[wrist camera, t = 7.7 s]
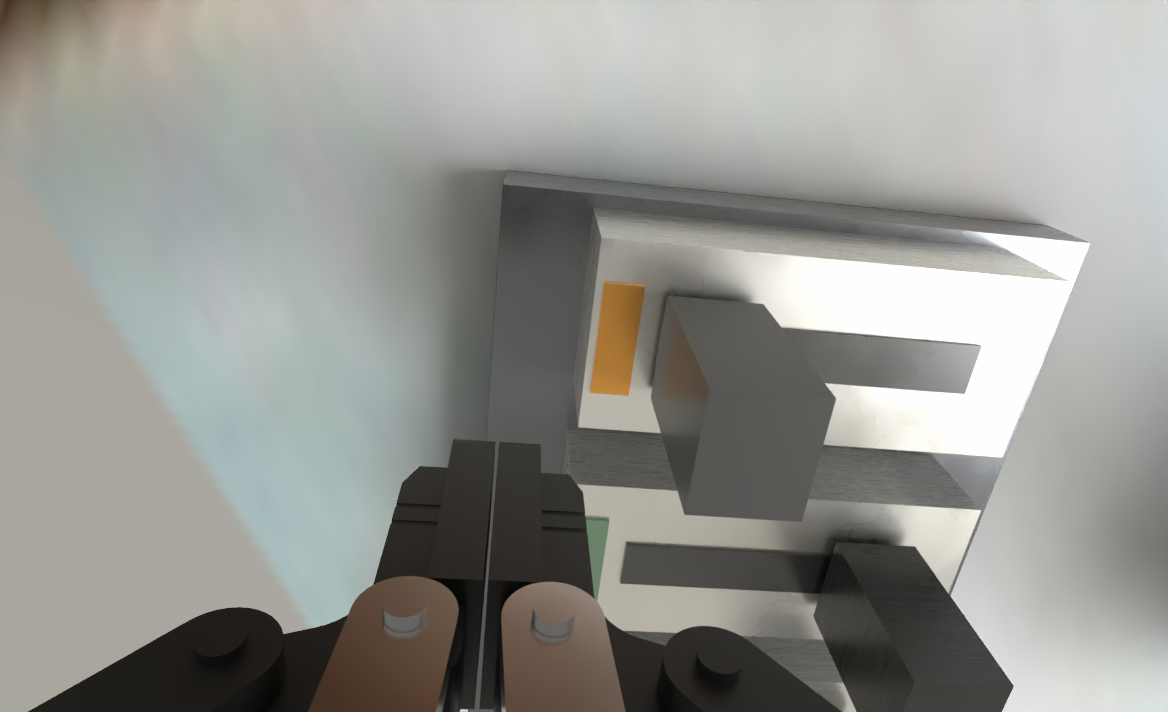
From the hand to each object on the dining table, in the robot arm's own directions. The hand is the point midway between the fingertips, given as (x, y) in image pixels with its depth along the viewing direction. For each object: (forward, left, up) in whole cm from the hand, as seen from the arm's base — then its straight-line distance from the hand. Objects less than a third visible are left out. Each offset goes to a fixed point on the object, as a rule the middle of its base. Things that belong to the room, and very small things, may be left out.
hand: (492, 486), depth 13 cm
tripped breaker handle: (0, +5, -6) cm, 8 cm away
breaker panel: (+7, +8, -11) cm, 16 cm away
